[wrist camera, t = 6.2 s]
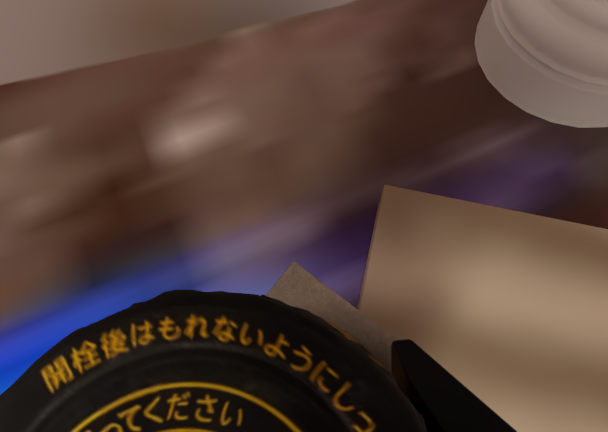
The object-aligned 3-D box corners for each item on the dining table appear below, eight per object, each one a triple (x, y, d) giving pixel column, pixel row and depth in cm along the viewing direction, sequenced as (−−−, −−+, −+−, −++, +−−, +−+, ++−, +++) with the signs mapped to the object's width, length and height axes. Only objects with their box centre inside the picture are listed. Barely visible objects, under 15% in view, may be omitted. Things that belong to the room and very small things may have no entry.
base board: (691, 632, 17) (763, 682, 14) (315, 514, 19) (314, 537, 16) (666, 266, 23) (714, 250, 20) (377, 206, 25) (384, 184, 22)
